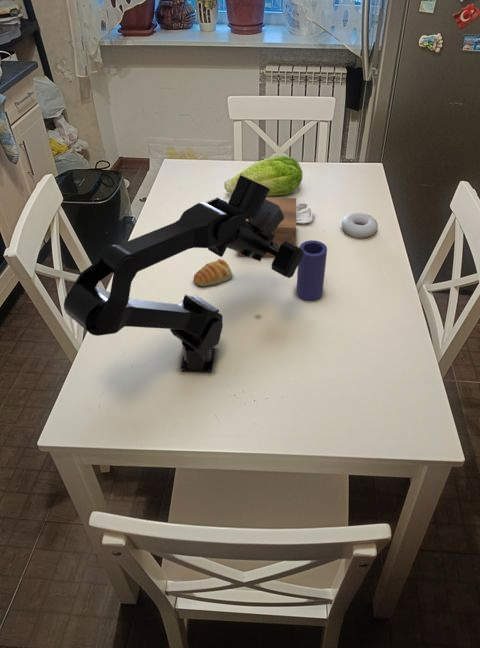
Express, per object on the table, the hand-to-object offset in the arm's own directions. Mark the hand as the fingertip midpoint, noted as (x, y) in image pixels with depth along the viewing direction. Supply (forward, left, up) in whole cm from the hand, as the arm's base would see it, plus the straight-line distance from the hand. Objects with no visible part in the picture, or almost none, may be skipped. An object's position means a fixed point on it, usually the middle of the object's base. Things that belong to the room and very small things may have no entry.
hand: (280, 253), depth 110 cm
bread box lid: (+25, +4, -5) cm, 26 cm away
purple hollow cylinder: (+4, -7, -14) cm, 16 cm away
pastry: (+9, +16, -14) cm, 23 cm away
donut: (+33, -22, -14) cm, 42 cm away
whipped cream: (+38, -6, -14) cm, 41 cm away
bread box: (+25, +4, -14) cm, 29 cm away
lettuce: (+53, +6, -14) cm, 55 cm away
